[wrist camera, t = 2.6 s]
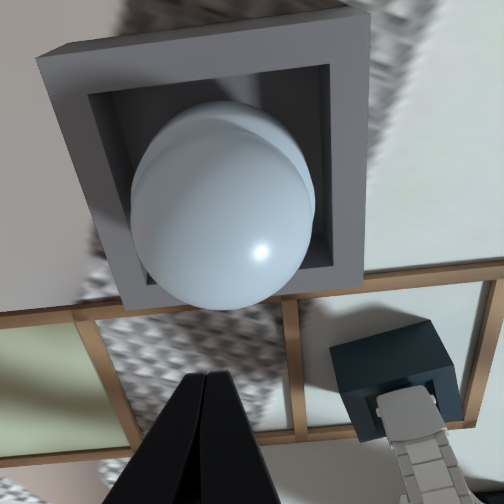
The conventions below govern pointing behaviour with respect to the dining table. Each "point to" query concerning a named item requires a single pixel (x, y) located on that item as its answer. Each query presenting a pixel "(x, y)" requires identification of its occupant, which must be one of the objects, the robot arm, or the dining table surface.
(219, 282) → the dome button
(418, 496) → the watch
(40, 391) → the brown flat frame
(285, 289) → the dome frame
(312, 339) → the dining table surface
